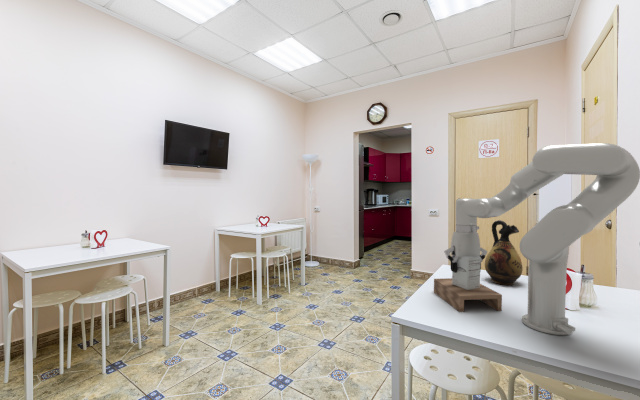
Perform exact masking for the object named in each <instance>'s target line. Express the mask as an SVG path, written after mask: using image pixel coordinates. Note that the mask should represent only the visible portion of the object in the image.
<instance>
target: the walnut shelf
mask: <svg viewBox="0 0 640 400" xmlns="http://www.w3.org/2000/svg"><path fill="white" fill-rule="evenodd" d="M433 293H434V294H436V296H438V297H439V298H440V299H442V300H443V301H444V302H446V303H448V304H449V305H450V306H451V307H453V308H454V309H455V310H457V311H458V312H459V313H464V312H465V301H467V300H479V301H481V302H482V303H484V304H486V305H487V306H489V307H490V308H492V309H494V310H496V311H497V312H501V311H502V309H503V308H502V307H503V295H502V294H501V293H499V292H498V291H495V290H494V289H491V288H490V287H487V286H486V285H484V284H482V283H480V288H476V289H470V290H466V289H464V288H461V287H459V286H456V285H452V277H451V278H433Z"/></svg>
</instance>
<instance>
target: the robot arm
mask: <svg viewBox="0 0 640 400" xmlns="http://www.w3.org/2000/svg"><path fill="white" fill-rule="evenodd" d="M563 175H578V176H579V175H581V176H582V175H585V176H587V175H588V176H596V177H595V179H594V180H593V181H592V182H591V183H590V184H589V185H587V186H586V187H585V188H584V189H583V190H582V191H581V192H580V193H579V194H578V195H576V197H575V198H574V199H572V200H571V201H569V202H568V203H567V204H564V205H563V204H562V205H560V206H556V207H555V208H552V209H551V210H550V211H549V212H548V213H546V214H545V215H544V216H543V217H542V218H541V219H540V220H539V221H538V222H537V223H536V224H535V225H534V226H533V227H532V228H530V229H529V230H528V231H527V232H526V233H525V234H524V235H523V236H522V238H521V239H520V241H519V252H520V253H521V255H522V256H523V257H524V258H525V259H526V260H528V261H529V263H528V277H527V281H528V283H527V314H523V315H522V316H521V321H522V323H523V324H525V326H526V327H528V328H531V329H533V330H536V331H538V332H540V333H545V334H549V335H550V334H551V335H557V336H567V335H572V334H573V332H575V331H576V327H575V326H572V325H571V324H569V318H568V317H566V297H567V296H566V295H567V294H566V293H567V292H566V291H567V289H566V287H567V271H568V270H567V268H568V260H569V254H570V253H569V250H570V246H572V245H573V244H574V243H575V242H576V241H577V240H579V239H580V238H582V237H583V236H584V235H587V234H589V233H590V232H592V231H593V230H594V229H595V227H597V225H598V224H600V223H601V222H602V221H603V220H604V219H606V218H607V217H608V216H610V214H611V213H613V212H614V211H615V210H616V209H617V208H618V207H619V206H621V205H622V204H623V203H624V202H625V201H626V200H628V199H629V197H631V195H632V194H634V192H635V191H636V189H637V187H638V185H639V183H640V166H639V164H638V162H637V160H636V159H635V157H634V156H633V155H632V154H631V152H629V151H628V150H627V149H625V148H623V147H621V146H620V145H617V144H614V143H607V142H601V143H597V142H596V143H577V144H554V145H553V144H552V145H550V144H549V145H546V146H544V147H541V148H539V149H538V150H537V151H536V152H535V153H534V155H533V157H532V161H531V162H530V163H528V164H527V165H525V166H524V167H523V168H521V169H519V170H518V171H517V172H515V173H514V174H512V176H511V177H510V179H509V180H510V181H509V183H508V185H507V186H506V187H505V188H504V189H502V190H501V191H500V192H498V193H497V194H495V195H494V196H492V197H484V198H483V197H482V198H480V197H479V198H464V197H463V198H458V199H456V201H455V231H453V233H452V237H451V242H450V243H451V244H450V247H449V248H448V249H446V250H444V251H443V252H444V255H445V257H446V258H447V259H448V260H449V261H450V271H451V272H452V271H453V272H455V273H457V263H456V261H457V260H458V258H461V257H463V256H479V257H481V259H480V273H481V270H482V262H483V261H484V259H486V256H487V255H488V250H487V249H485V248H483V247H481V242H480V236H479V233H478V232H477V231H478V230H480V226H479V225H477V224H478V223H477V222H478V218H479V219H491V218H498V217H500V216H502V215H504V214H505V213H507V212H509V211H510V210H512V209H514V208H515V207H517V206H519V205H520V204H522V202H524V201H525V200H527V199H528V198H530V196H531V195H533V194H535V193H536V192H538V191H539V190H541V189H543V188H544V187H545V186H547V185H549V184H550V183H552V182H553V181H556V180H557V179H558V178H560V177H562V176H563Z"/></svg>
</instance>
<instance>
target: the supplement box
mask: <svg viewBox="0 0 640 400" xmlns="http://www.w3.org/2000/svg"><path fill="white" fill-rule="evenodd" d="M480 259H481V257H479V256H463V257H461V258H458V260H457V261H456V263H457V273H455V272H453V271H451V273H452V277H451V278H452V285H456V286H459V287H461V288H464V289H466V290H470V289H476V288H480V284H481V272H480Z"/></svg>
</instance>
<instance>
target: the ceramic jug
mask: <svg viewBox="0 0 640 400" xmlns="http://www.w3.org/2000/svg"><path fill="white" fill-rule="evenodd" d="M499 225H501V226H502V227H501V228H500V229H499V230H498V231H497V226H499ZM491 232H492V237H493V244H492V247H491V248H490V250H489V251H488V252H487V254H486V256H485V261H484V268H485V270H486V273H487V274H488V276H489V277H490V281H492V283H496V284H497V285H500V284H501V286H513V285H514V283H515V282H516V281H517V280H519V278H520V277H521V275H522V273H523V263H522V258H521V257H520V254H519V252H518V251H517V250H516V248H515V246H514V245H513V243H512V242H511V241H510V236H511V235H513V234H518V233H519V232H520V231H519V228H518V227H517V226H515V225H514V224H513V225H510V224H507V223H506V221H503V220H500V219H499V220H495V221H494V222H492V224H491ZM498 234H499V235H500V237H499V236H498Z"/></svg>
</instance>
